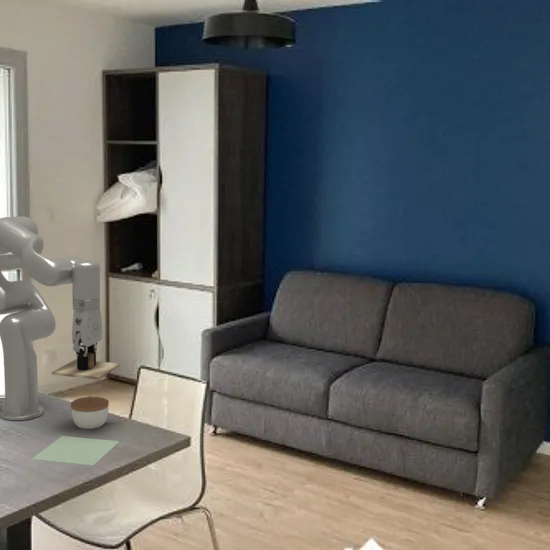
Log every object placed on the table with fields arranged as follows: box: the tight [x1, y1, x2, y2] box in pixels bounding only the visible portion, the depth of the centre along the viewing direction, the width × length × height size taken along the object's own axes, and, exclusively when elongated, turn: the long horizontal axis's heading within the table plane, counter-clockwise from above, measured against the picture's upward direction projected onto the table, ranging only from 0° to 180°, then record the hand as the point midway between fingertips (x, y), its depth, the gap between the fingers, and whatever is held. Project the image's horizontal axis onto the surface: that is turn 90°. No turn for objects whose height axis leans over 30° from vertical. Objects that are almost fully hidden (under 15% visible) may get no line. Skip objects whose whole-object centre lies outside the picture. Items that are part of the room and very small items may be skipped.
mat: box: [31, 435, 120, 466], centre depth 201 cm, size 17×17×1 cm
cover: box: [51, 352, 121, 381], centre depth 215 cm, size 14×14×5 cm
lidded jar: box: [70, 395, 110, 430], centre depth 219 cm, size 11×11×9 cm
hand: (86, 366), depth 215 cm, fingers closed on cover, 4 cm apart
